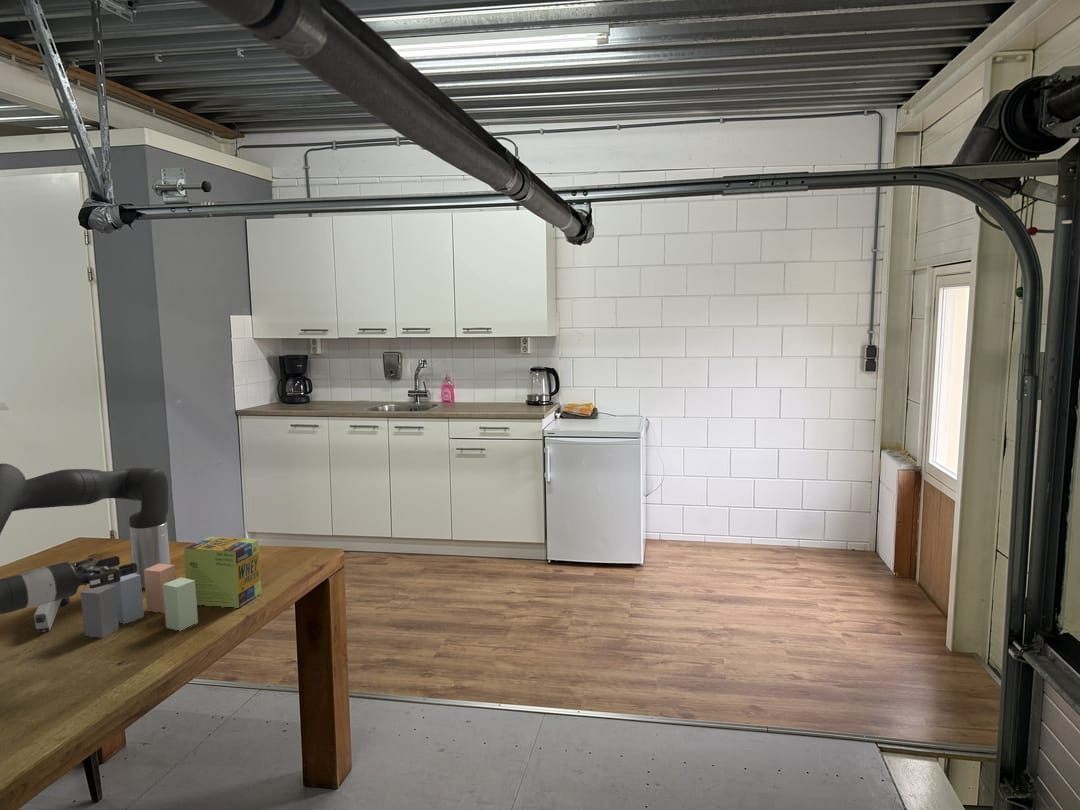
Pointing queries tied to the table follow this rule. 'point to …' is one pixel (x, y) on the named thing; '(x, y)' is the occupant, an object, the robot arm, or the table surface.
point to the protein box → (224, 571)
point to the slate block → (129, 598)
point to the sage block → (180, 603)
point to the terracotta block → (157, 585)
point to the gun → (47, 614)
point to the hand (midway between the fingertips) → (127, 563)
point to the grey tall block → (99, 611)
